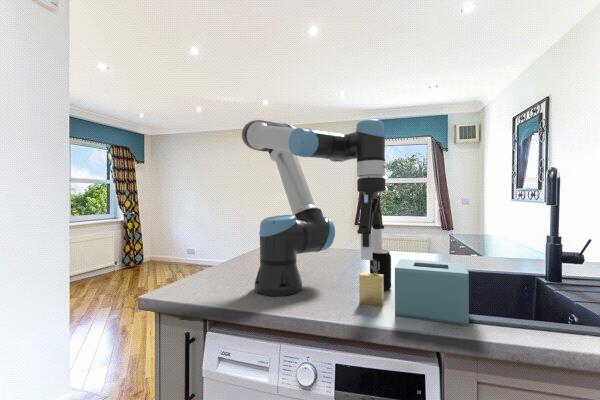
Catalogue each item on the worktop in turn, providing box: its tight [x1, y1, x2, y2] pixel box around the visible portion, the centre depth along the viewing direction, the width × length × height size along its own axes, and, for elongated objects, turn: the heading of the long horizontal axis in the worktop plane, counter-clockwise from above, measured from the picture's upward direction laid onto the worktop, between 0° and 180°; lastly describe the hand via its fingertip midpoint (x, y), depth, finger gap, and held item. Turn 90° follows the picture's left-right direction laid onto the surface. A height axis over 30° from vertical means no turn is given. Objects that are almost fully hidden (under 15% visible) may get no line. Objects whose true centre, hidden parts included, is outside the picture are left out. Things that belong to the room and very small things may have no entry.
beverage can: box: [369, 249, 392, 292], centre depth 99 cm, size 7×7×12 cm
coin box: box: [394, 258, 470, 327], centre depth 78 cm, size 16×12×12 cm
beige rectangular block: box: [358, 272, 385, 308], centre depth 85 cm, size 6×3×8 cm, turn 66°
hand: (372, 255), depth 85 cm, fingers open, 13 cm apart
